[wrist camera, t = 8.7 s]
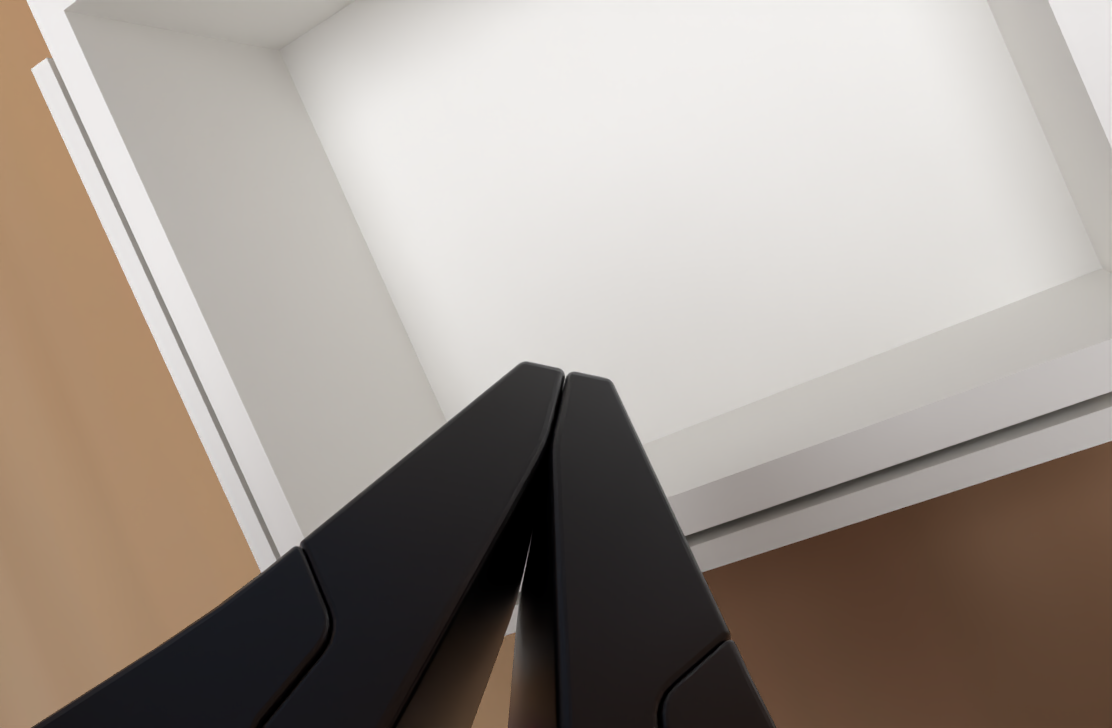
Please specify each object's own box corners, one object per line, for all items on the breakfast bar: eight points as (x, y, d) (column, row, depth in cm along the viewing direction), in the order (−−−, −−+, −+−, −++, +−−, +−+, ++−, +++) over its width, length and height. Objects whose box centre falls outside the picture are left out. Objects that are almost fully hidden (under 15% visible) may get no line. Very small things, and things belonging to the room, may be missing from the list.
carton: (1198, 300, 17) (1341, 369, 11) (473, 561, 23) (314, 698, 17) (904, -384, 17) (890, -685, 11) (244, 54, 23) (0, 13, 17)
